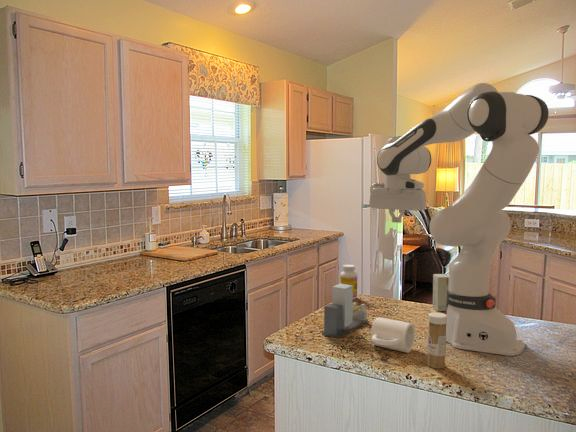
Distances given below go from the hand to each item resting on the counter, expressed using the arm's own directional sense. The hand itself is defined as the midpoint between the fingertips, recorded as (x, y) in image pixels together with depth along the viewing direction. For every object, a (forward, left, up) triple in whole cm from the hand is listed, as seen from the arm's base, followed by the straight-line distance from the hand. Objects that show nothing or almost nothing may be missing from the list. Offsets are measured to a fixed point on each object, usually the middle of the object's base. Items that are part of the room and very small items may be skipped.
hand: (396, 222), depth 170 cm
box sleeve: (+4, +32, -29) cm, 43 cm away
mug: (-15, +39, -31) cm, 52 cm away
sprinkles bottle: (-29, +42, -31) cm, 60 cm away
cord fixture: (+4, +30, -31) cm, 43 cm away
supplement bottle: (+20, -2, -31) cm, 37 cm away
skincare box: (-14, -8, -31) cm, 35 cm away
